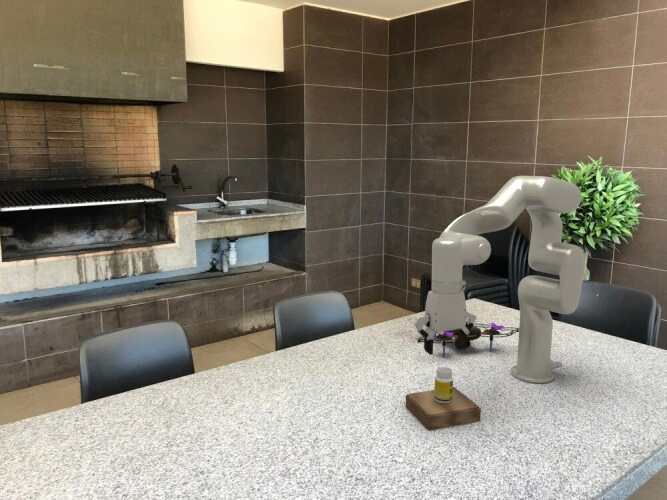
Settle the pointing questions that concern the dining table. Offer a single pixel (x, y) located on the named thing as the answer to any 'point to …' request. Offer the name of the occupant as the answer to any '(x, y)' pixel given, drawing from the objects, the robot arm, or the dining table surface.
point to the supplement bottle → (443, 385)
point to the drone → (470, 335)
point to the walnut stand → (442, 410)
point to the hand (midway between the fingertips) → (445, 350)
